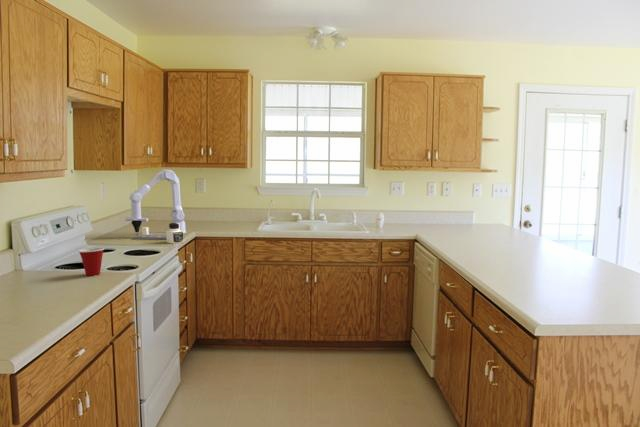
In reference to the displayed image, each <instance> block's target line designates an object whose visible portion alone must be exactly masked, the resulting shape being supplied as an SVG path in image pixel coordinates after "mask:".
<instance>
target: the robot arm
mask: <svg viewBox="0 0 640 427" xmlns="http://www.w3.org/2000/svg"><path fill="white" fill-rule="evenodd" d="M163 180H167V181H168V182H169V183H170V185H171V195H172V199H171V200H172V208H171V209H172V210H171V213H170V216H171V218H172V223H179V226H180V229H179V230H181V231H183V235H184V234H186V233H187V231H186V222H185V220H184V219H185V215H186V214H185V213H184V209H183V207H182V199H181V187H180V179H179V177H178V176H177V175H176V172H175V171H173V170H171V169H166V168H165V169H161V171H159V172H158V173H156V174H155V175H154V177H153V178H151V179H150V180H149V181H148V182H147V183H146V184H141V185H140V186H139V188H137V189H135V190H134V192H132V193H131V194H130V196H129V200H130V201H131V202H130V207H131V209H130V211H131V217H125V218H124V222H130V223H131V225H132V226H133V229H134V233H139V232H140V228H141V225H142V223H143V222H148V221H149V218H148V217H142V207H141V205H142V204H141V201H142V198H143V197H144V196H146V195H147V194H148V193H149V192H151V188H152V187H154V185H155V184H157V183H158V182H160V181H163Z"/></svg>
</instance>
